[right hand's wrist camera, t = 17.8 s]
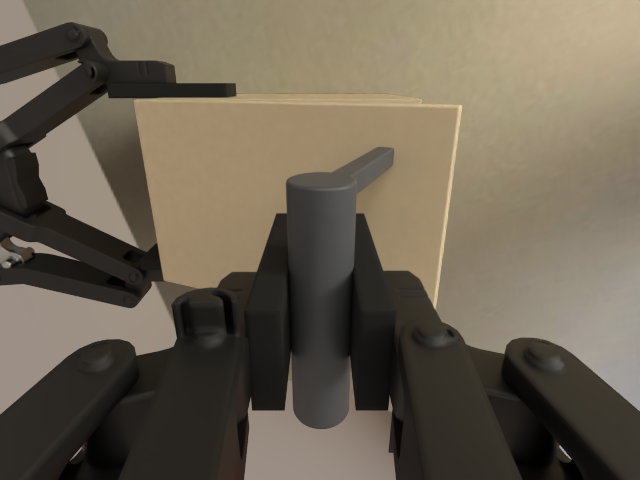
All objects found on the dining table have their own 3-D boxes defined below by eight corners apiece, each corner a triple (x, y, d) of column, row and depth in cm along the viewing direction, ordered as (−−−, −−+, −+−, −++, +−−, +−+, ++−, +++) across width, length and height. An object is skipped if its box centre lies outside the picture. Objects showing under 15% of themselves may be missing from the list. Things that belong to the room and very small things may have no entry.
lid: (462, 104, 14) (431, 126, 7) (433, 328, 18) (392, 493, 11) (150, 98, 20) (-51, 108, 12) (177, 272, 23) (33, 358, 16)
